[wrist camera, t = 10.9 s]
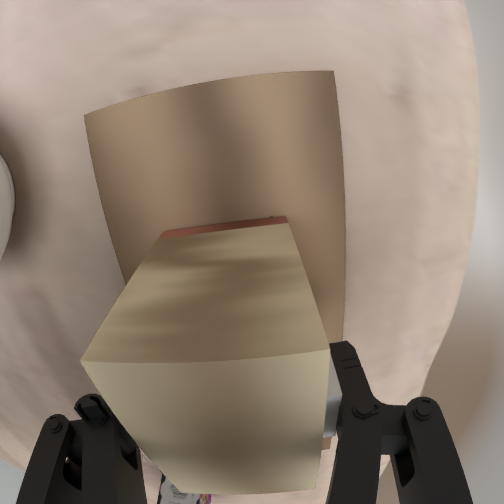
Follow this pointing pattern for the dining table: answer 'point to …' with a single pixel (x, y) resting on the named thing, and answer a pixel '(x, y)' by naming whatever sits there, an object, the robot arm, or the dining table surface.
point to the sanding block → (219, 360)
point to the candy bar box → (179, 495)
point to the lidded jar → (5, 204)
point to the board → (229, 170)
